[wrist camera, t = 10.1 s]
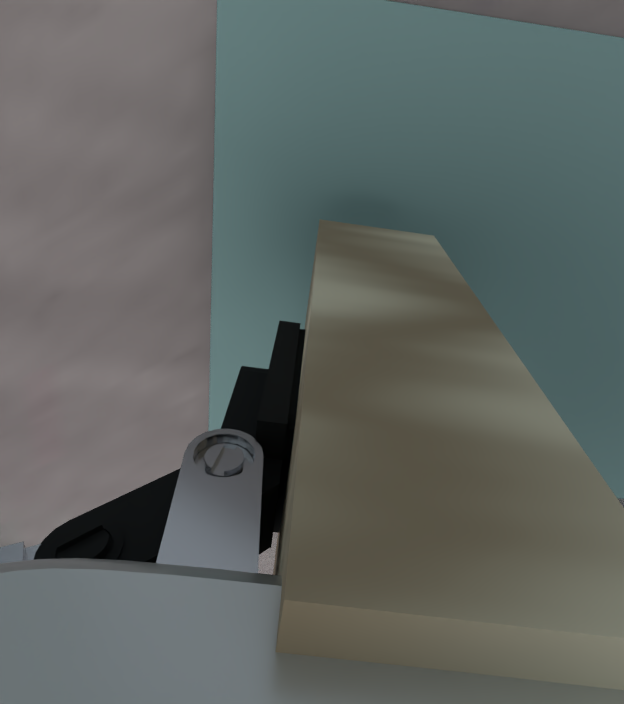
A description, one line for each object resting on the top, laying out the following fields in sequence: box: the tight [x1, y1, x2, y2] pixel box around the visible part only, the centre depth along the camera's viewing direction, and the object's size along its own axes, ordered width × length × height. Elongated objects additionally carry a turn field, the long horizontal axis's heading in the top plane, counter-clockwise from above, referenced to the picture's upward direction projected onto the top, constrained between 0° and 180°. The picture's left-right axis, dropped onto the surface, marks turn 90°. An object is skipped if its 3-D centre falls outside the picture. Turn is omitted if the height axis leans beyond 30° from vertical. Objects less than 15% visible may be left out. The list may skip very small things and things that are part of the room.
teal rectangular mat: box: [209, 0, 624, 499], centre depth 18 cm, size 21×18×1 cm
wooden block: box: [273, 219, 624, 690], centre depth 9 cm, size 3×7×10 cm, turn 172°
